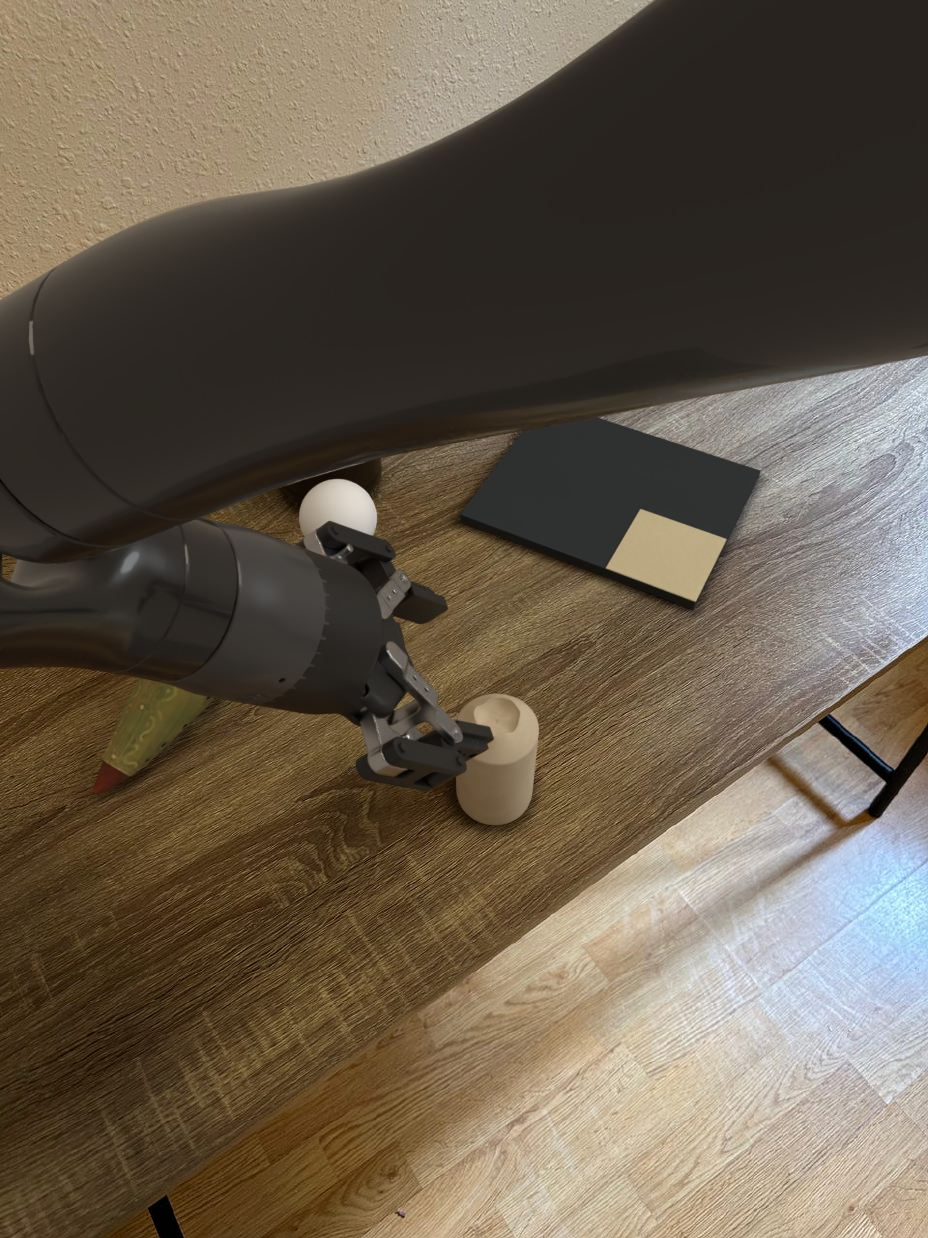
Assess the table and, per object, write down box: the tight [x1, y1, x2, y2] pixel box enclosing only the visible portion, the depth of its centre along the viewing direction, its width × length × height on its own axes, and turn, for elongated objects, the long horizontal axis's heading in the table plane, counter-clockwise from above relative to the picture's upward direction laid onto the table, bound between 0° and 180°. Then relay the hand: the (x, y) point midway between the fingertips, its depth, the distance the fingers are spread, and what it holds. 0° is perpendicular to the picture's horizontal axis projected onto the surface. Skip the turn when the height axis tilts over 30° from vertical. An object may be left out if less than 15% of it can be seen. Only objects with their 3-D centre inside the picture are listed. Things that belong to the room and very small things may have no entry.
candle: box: [455, 693, 540, 826], centre depth 68 cm, size 6×6×10 cm
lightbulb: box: [298, 479, 378, 538], centre depth 80 cm, size 6×6×11 cm
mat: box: [459, 417, 761, 610], centre depth 90 cm, size 22×18×1 cm
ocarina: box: [92, 678, 215, 796], centre depth 73 cm, size 20×5×10 cm, turn 148°
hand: (456, 674), depth 58 cm, fingers open, 8 cm apart
